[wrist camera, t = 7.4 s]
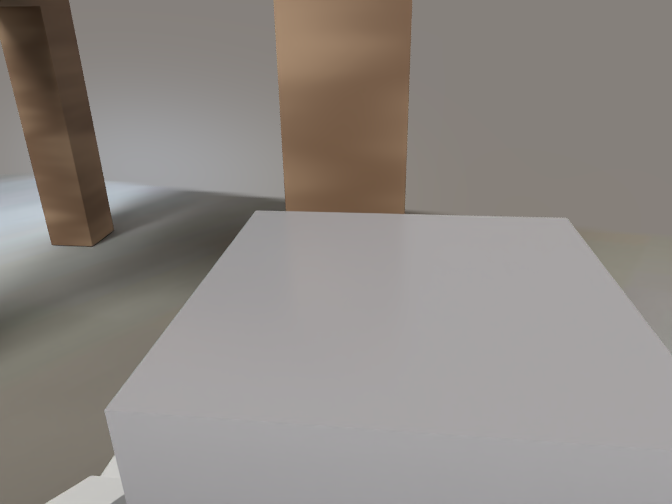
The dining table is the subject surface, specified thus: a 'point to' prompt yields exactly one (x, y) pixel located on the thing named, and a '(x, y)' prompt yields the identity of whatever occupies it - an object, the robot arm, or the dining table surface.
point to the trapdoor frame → (295, 109)
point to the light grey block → (400, 371)
